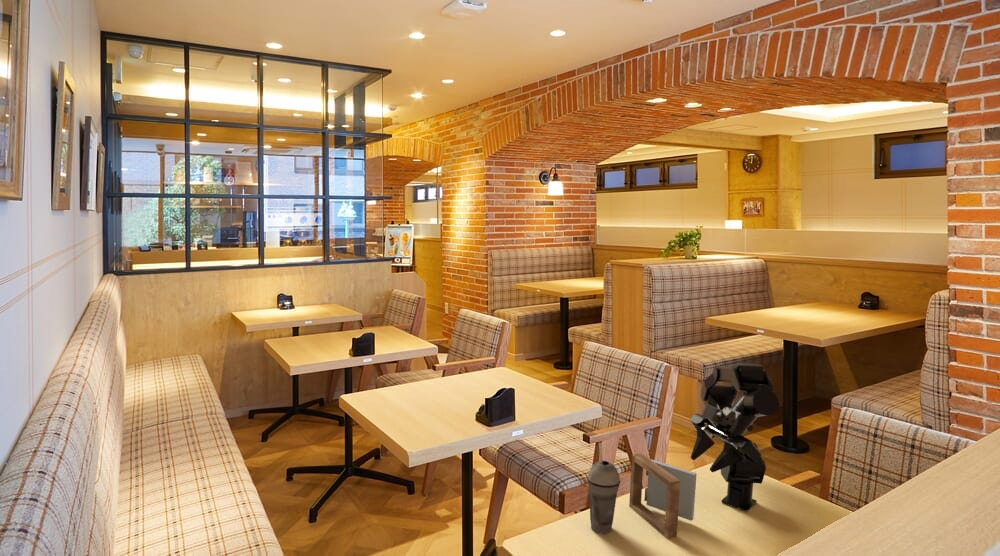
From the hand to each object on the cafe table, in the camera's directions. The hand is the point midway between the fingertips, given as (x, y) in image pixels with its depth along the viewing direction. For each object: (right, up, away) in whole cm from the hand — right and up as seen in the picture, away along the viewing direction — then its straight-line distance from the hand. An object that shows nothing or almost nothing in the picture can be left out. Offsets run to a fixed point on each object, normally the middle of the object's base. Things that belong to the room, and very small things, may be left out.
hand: (701, 464), depth 141 cm
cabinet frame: (-12, -13, -1) cm, 17 cm away
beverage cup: (-24, -13, -5) cm, 28 cm away
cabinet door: (-7, -11, +2) cm, 13 cm away
